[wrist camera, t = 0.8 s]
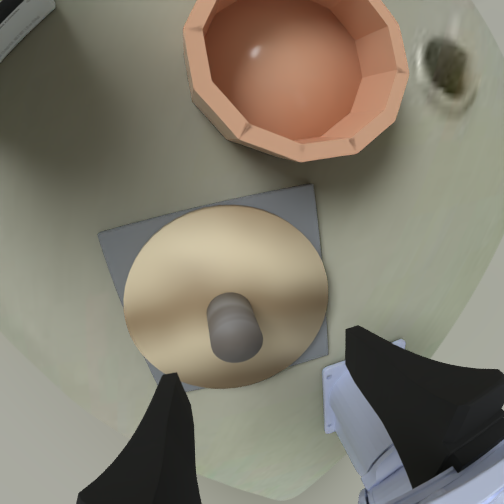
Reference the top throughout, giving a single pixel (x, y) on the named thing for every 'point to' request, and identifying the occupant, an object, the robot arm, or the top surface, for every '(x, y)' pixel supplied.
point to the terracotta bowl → (296, 73)
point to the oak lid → (225, 296)
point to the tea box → (20, 20)
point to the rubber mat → (277, 202)
